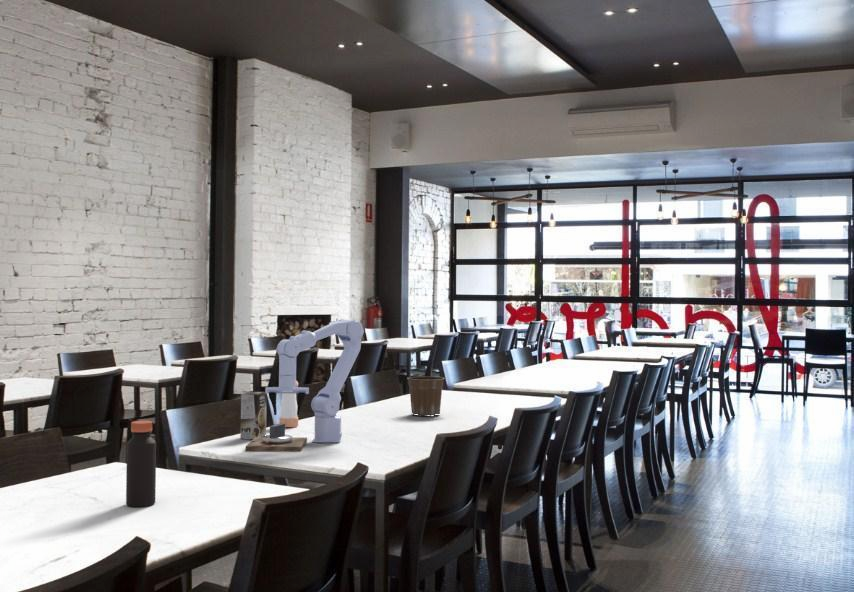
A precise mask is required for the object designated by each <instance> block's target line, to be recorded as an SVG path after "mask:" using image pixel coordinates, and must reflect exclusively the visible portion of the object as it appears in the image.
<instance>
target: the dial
mask: <svg viewBox="0 0 854 592" xmlns="http://www.w3.org/2000/svg"><path fill="white" fill-rule="evenodd" d="M292 437H293V435H290V434H286V428H285V424H282V423H276V424H273V425H270V426H269V434H268V435H267V434H266V436H263V437H262V442H263V443H269V444H283V443H290V442H292Z"/></svg>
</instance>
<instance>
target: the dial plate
mask: <svg viewBox="0 0 854 592" xmlns="http://www.w3.org/2000/svg"><path fill="white" fill-rule="evenodd" d="M307 443H308V437H293V436H292V442H290V443H283V444H269V443H263V442H262V437H255V438H254V439H253V440H250V442H249V443H248V444H246V445H245V450H246V451H245V452H301V451H303V449H304V447H305V446H306V444H307Z"/></svg>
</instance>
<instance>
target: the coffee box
mask: <svg viewBox="0 0 854 592" xmlns="http://www.w3.org/2000/svg"><path fill="white" fill-rule="evenodd" d="M240 395H241V397H240V436H239V437H240V438H243V439H242V440H250V439H254V438H255V437H263V436H265V435H267V402H268V401H267V400H268V399H267V397H268V396H267V394H266V393H265V391H248V392H244V393H241V394H240Z"/></svg>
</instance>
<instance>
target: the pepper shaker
mask: <svg viewBox="0 0 854 592" xmlns="http://www.w3.org/2000/svg"><path fill="white" fill-rule="evenodd" d="M296 387H299V382H298V380H296ZM281 392H293V391H281ZM297 408H298V400H297V393H281V402H280V408H279V409H280V413H279V414H280V415H279V416H280V417H279V420H278V422H279V423H282V424H285V427H295V428H298V427H299V417H298V415H297ZM279 423H278V424H279ZM297 426H298V427H297Z"/></svg>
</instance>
